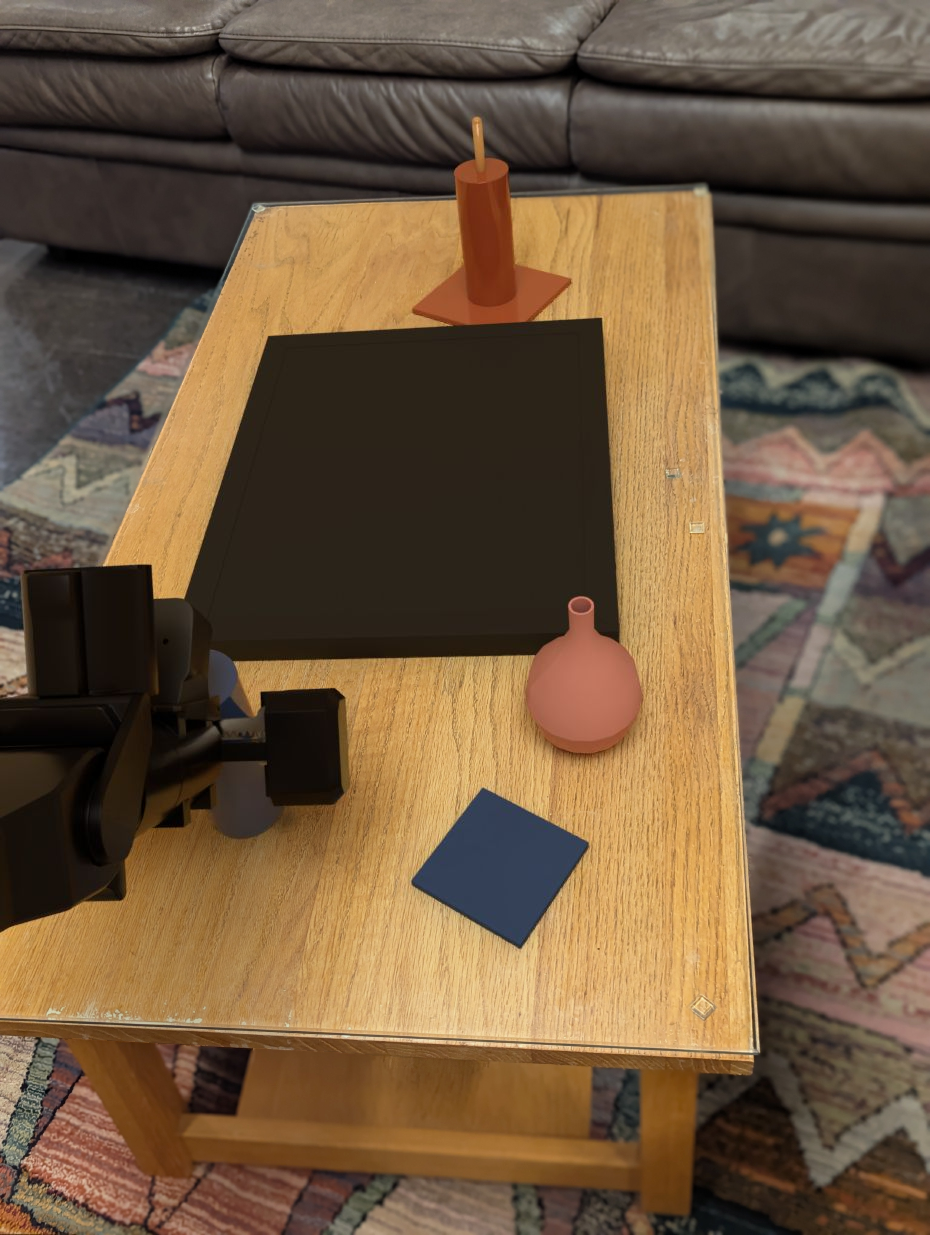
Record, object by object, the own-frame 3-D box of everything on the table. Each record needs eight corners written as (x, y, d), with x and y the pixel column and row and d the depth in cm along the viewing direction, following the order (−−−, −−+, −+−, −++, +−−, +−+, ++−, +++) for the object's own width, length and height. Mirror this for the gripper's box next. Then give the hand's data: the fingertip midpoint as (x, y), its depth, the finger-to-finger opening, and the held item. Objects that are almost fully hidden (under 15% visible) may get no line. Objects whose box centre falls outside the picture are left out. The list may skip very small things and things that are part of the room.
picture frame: (179, 662, 81) (619, 653, 78) (170, 641, 80) (619, 631, 76) (273, 356, 109) (602, 338, 105) (268, 335, 107) (602, 317, 103)
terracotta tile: (509, 341, 106) (509, 336, 106) (412, 313, 112) (411, 308, 111) (571, 283, 113) (571, 278, 112) (476, 258, 118) (476, 253, 117)
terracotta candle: (499, 311, 109) (484, 133, 96) (457, 299, 111) (437, 124, 98) (526, 286, 112) (515, 110, 99) (484, 275, 114) (469, 101, 101)
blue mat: (520, 949, 63) (520, 945, 63) (411, 885, 67) (410, 880, 66) (589, 847, 67) (589, 841, 67) (483, 791, 71) (482, 786, 70)
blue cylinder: (250, 852, 69) (193, 731, 60) (192, 816, 72) (129, 695, 62) (301, 793, 72) (255, 669, 63) (245, 761, 74) (192, 636, 65)
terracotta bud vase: (662, 745, 72) (669, 624, 63) (560, 789, 70) (554, 672, 62) (605, 667, 77) (605, 545, 68) (509, 707, 75) (496, 587, 67)
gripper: (304, 602, 51) (364, 595, 67) (-67, 619, 53) (75, 608, 69) (317, 833, 52) (373, 773, 67) (-52, 842, 54) (86, 781, 69)
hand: (225, 729), depth 68 cm, fingers open, 7 cm apart
